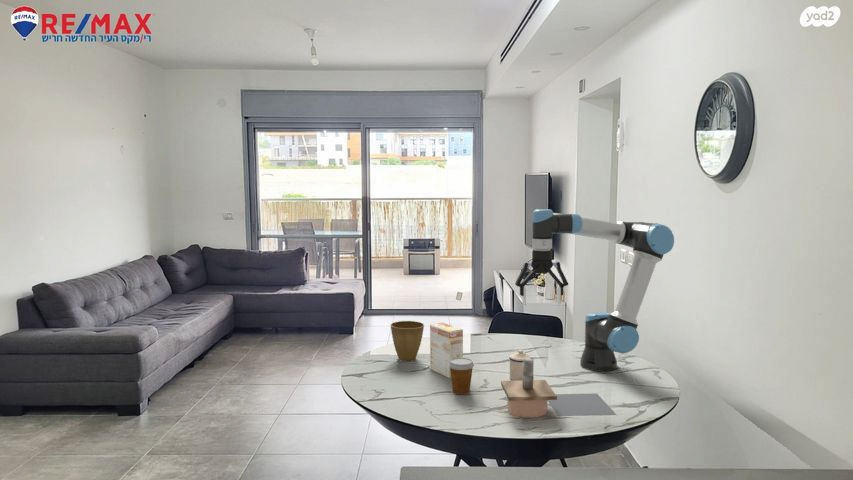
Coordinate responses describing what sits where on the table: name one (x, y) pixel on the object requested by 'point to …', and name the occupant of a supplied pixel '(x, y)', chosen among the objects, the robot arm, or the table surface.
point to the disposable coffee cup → (461, 375)
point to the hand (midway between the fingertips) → (541, 303)
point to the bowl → (527, 408)
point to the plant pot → (407, 339)
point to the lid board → (528, 394)
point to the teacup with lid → (517, 365)
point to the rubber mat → (580, 405)
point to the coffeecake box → (444, 347)
